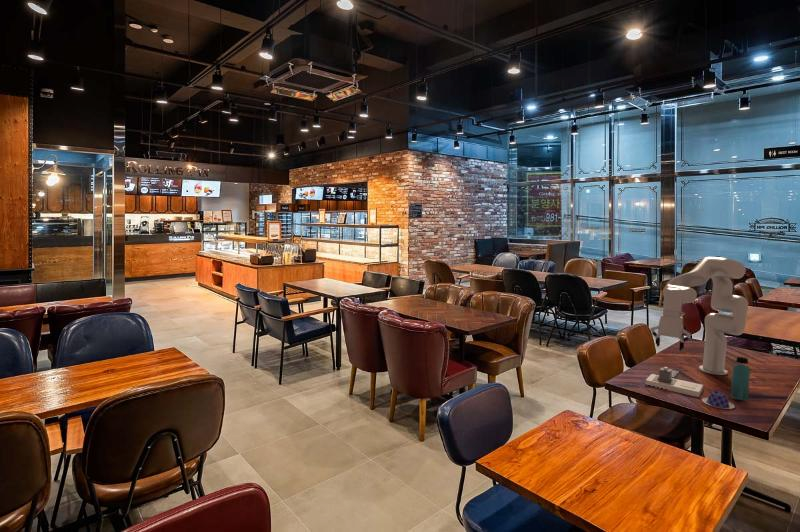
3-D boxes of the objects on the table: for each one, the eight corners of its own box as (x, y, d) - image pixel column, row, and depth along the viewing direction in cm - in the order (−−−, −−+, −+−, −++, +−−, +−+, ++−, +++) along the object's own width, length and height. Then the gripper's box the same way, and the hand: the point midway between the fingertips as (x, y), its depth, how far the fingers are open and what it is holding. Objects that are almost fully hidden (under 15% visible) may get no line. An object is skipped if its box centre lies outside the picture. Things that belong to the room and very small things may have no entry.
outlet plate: (651, 378, 228) (651, 373, 228) (702, 389, 214) (703, 384, 213) (645, 384, 219) (645, 379, 219) (698, 397, 205) (699, 391, 204)
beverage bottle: (750, 404, 198) (755, 360, 195) (733, 402, 199) (738, 359, 197) (742, 398, 204) (747, 356, 202) (726, 397, 205) (730, 354, 203)
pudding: (700, 397, 206) (701, 386, 205) (732, 402, 200) (733, 391, 199) (702, 406, 195) (703, 395, 195) (736, 412, 189) (738, 400, 189)
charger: (660, 382, 222) (661, 365, 221) (670, 385, 219) (672, 367, 218) (658, 385, 219) (659, 367, 218) (668, 387, 216) (670, 369, 215)
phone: (664, 370, 243) (664, 368, 242) (679, 373, 238) (679, 371, 238) (658, 376, 233) (658, 374, 233) (673, 379, 228) (673, 377, 228)
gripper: (694, 314, 213) (691, 349, 215) (653, 309, 224) (651, 342, 226) (691, 317, 207) (688, 353, 209) (649, 312, 218) (647, 346, 220)
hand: (669, 347), depth 218 cm, fingers open, 9 cm apart
